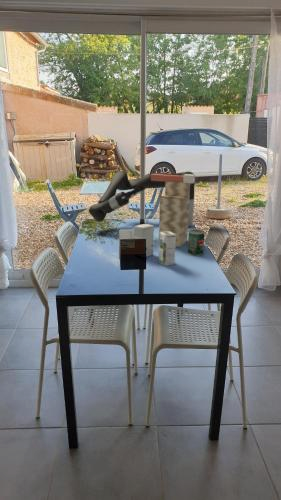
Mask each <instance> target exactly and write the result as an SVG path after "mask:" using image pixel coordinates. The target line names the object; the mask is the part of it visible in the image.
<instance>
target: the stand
mask: <svg viewBox="0 0 281 500" xmlns="http://www.w3.org/2000/svg"><path fill="white" fill-rule="evenodd" d="M189 198H190V183H180V182H165V187H164V195H160V196H159V216H158V217H159V221H158V222H159V225H158V226H159V227H158V243H159V242H160V232H165V231H171V232H172V233H174V234H176V243H175V248H181V247H183V245H185V244H186V243H187V242H188V234H189V227H188V218H189Z"/></svg>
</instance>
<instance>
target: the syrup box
mask: <svg viewBox="0 0 281 500" xmlns="http://www.w3.org/2000/svg"><path fill="white" fill-rule="evenodd" d="M175 243H176V234H174V233H172V232H171V231H165V232H160V242H159V241H158V245H159V246H158V247H159V249H158V250H159V251H158V263H160V265H162V266H163V267H165V266H172V265H175V257H176V246H175Z"/></svg>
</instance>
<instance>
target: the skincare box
mask: <svg viewBox="0 0 281 500" xmlns="http://www.w3.org/2000/svg"><path fill="white" fill-rule="evenodd" d="M154 231H155V225H152V224H149V223H148V224H147V223H143V224H142V223H141V224H138V225H134V226H133V237H134V236H136V237H139V238H142V239H146V247H147V250H146V254H147V256H146V257H148V256H152V255H154V236H155V235H154V234H155V233H154Z"/></svg>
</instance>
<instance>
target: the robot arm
mask: <svg viewBox="0 0 281 500" xmlns="http://www.w3.org/2000/svg"><path fill="white" fill-rule="evenodd" d="M151 174H164V175H181V176H184V175H185V174H193V175H195V174H194V172H192V171H182V172H176V173H175V172H174V173H167V172H150V173H147V174H144V175H143V176H142V177H140V178H139V179H135V180H129V177H128V174H127V172H126V171H124V170H118V171H117V172H115V173H114V174H113V176H112V178H111V181H110V182H109V185H108V187H107V189H106V190H105V192H104V193H103V194H102V195H101V197H100V199H99V200H98V202H97V203H94V204H92V205H90V206H89V208H88V213H89V214H90V216H91V217H92V218H93V219H94V220H95V221H96V222H98V223H101V222H103V221H104V220H105V219H106V217H107V214H111V213H112V212H115V211H117V210H118V209H121V208H123V207H124V206H126V205H128V204H129V203H130V199H132V198H134V197H135V196H137V195H138V194H140V193H142V192H143V191H144V190H146V189H161V188H165V182H164V181H151ZM196 180H197V177H196V176H195V181H196ZM195 183H196V182H195ZM195 183H190V198H189V218H188V228H190V227H189V226H191V227H193V226H194V214H195V213H194V209H195ZM118 191H120V192H118ZM125 191H126V192H125ZM117 192H118V193H117Z"/></svg>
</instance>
